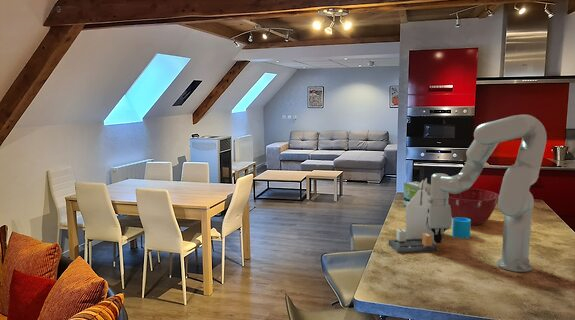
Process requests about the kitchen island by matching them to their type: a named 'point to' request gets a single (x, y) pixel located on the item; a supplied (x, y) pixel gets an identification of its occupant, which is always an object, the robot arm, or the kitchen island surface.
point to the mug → (461, 227)
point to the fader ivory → (400, 235)
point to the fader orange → (427, 239)
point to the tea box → (410, 191)
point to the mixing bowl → (473, 205)
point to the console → (411, 246)
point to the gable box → (418, 212)
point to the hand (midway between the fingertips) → (437, 242)
